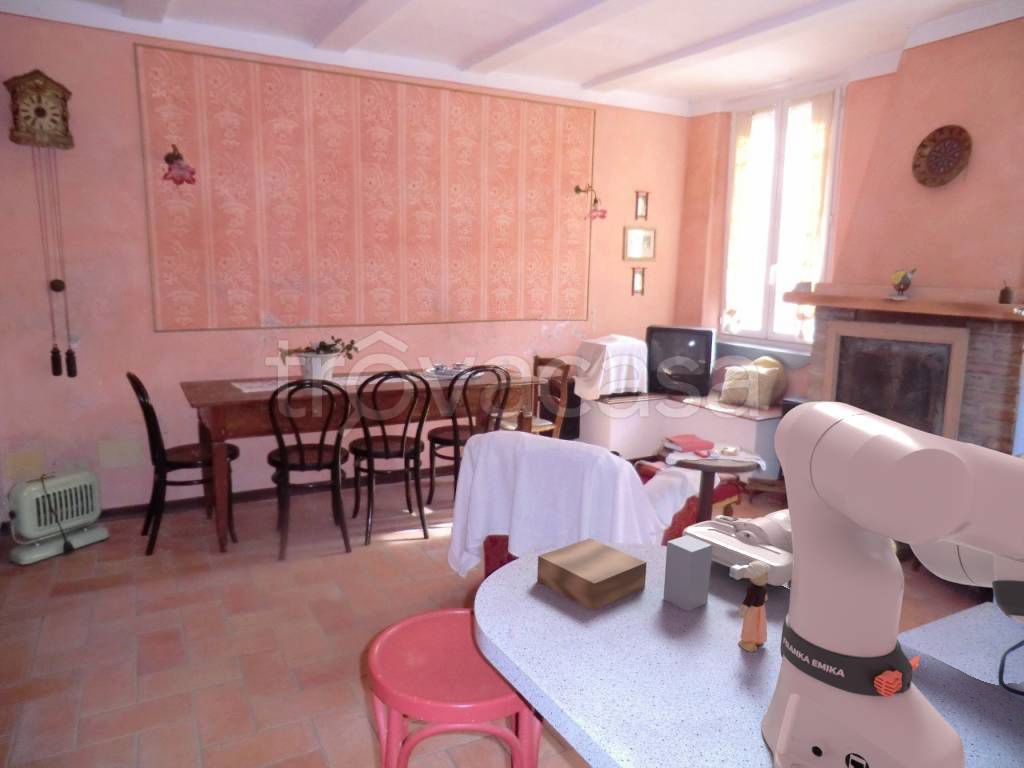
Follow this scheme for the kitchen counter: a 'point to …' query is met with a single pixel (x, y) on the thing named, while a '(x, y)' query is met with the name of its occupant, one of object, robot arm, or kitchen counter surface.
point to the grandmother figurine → (755, 607)
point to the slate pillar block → (687, 572)
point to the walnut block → (591, 573)
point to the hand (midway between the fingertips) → (709, 563)
